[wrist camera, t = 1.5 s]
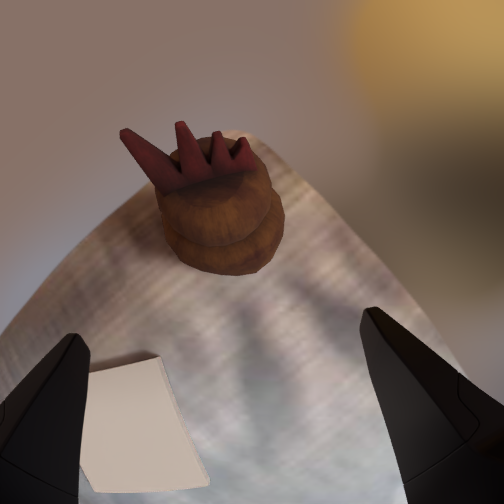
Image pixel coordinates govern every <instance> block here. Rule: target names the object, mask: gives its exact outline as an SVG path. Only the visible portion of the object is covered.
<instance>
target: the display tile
mask: <svg viewBox="0 0 504 504" xmlns="http://www.w3.org/2000/svg"><path fill="white" fill-rule="evenodd" d="M80 465H81V467H82V469H83V471H84V473H85V475H86V477H87V479H88V480H89V482H90V484H91V486H92V488H93V489H94V491H95V492H104V493H138V492H158V491H171V490H181V489H189V488H197V487H204V486H209V483H210V478H209V476H208V474H207V472H206V470H205V468H204V465H203V463H202V461H201V459H200V457H199V455H198V452H197V450H196V448H195V446H194V443H193V441H192V439H191V437H190V434H189V432H188V429H187V427H186V425H185V422H184V420H183V417H182V415H181V412H180V410H179V407H178V405H177V402H176V399H175V397H174V394H173V391H172V389H171V386H170V383H169V380H168V378H167V375H166V372H165V369H164V366H163V363H162V360H161V357H160V356H159V357H155V358H151V359H147V360H143V361H139V362H135V363H130V364H126V365H122V366H117V367H113V368H108V369H104V370H99V371H94V372H89V379H88V393H87V402H86V409H85V416H84V424H83V432H82V442H81V453H80Z"/></svg>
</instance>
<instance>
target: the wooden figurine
mask: <svg viewBox="0 0 504 504" xmlns="http://www.w3.org/2000/svg"><path fill="white" fill-rule="evenodd" d="M175 130H176V138H177V146H178V149H177V150H175V151H174V152H172V153H171V154H170V156H168V155H167V154H165V153H164V152H163V151H161V150H160V149H158V148H157V147H155V146H154V145H152V144H151V143H149V142H148V141H147V140H145V139H144V138H142V137H141V136H139V135H138V134H136V133H135V132H133V131H132V130H130V129H128V128H125V129H123V130H120V139H121V140H122V142H123V143H124V145H125V146H126V147H127V149H128V150H129V152H130V153H131V155H132V156H133V157H134V159H135V160H136V161H137V163H138V164H139V165H140V167H141V168H142V170H143V171H144V172H145V174H146V175H147V177H148V178H149V179H150V181H151V182H152V183H153V185H154V186H155V193H156V197H157V201H158V206H159V209H160V211H161V212H162V215H161V217H162V222H163V227H164V232H165V237H166V241H167V243H168V244H169V245H170V247H171V248H172V249H173V251H174V252H175V254H176V255H177V256H178V258H179V259H180V261H182V262H183V263H185V264H187V265H189V266H191V267H194V268H196V269H198V270H201V271H204V272H209V273H214V274H219V275H231V276H240V275H246V274H253V273H256V272H257V271H259V270H260V269H261V268H262V267H264V266H265V265H266V264H267V263H268V262H270V261H271V259H272V258H273V256H274V254H275V252H276V250H277V248H278V246H279V244H280V241H281V239H282V237H283V231H284V220H285V214H284V210H283V207H282V203H281V199H280V196H279V195H278V194H277V193H276V192H275V190H274V189H273V188H272V184H271V180H270V177H269V174H268V171H267V169H266V166H265V164H264V163H263V162H262V161H261V159H260V158H259V157H258V156H257V155H256V154H255V153H254V152H253V151H252V150H251V148H250V145H249V143H248V141H247V139H246V137H240V138H239V139H238V140H237V141H236V140H232V139H228V138H224V137H223V136H222V133H221V132H220V131H216V132H213V133H212V137H205V138H200V139H198V140H196V139H195V138H194V136H193V134H192V133H191V131H190V130H189V128H188V127H187V125H186V123H185V122H184V121H179V122H176V123H175Z"/></svg>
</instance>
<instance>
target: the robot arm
mask: <svg viewBox="0 0 504 504" xmlns="http://www.w3.org/2000/svg"><path fill="white" fill-rule="evenodd" d="M360 336H361V340H362V344H363V348H364V353H365V357H366V361H367V366H368V370H369V374H370V378H371V381H372V384H373V387H374V390H375V393H376V395H377V398H378V401H379V404H380V408H381V411H382V414H383V417H384V420H385V423H386V426H387V429H388V433H389V436H390V439H391V443H392V446H393V449H394V453H395V456H396V460H397V463H398V467H399V470H400V474H401V478H402V482H403V484H404V485H403V486H404V490H405V494H406V498H407V502H408V504H504V406H503V405H502V404H501V403H499V402H498V401H496V400H495V399H493V398H492V397H490V396H489V395H488V394H486V393H485V392H484V391H482V390H481V389H479V388H478V387H477V386H476V385H474V384H473V383H472V382H471V381H469V380H468V379H467V378H466V377H464V376H463V375H462V374H461V373H458V371H457V370H456V369H455V368H453V367H452V366H451V365H450V364H449V363H447V362H446V361H445V360H444V359H443V358H441V357H440V356H439V355H438V354H436V353H435V352H434V351H433V350H432V349H430V348H429V347H428V346H427V345H425V344H424V343H423V342H422V341H420V340H419V339H418V338H417V337H415V336H414V335H413V334H412V333H410V332H409V331H408V330H407V329H405V328H404V327H403V326H402V325H400V324H399V323H398V322H397V321H395V320H394V319H393V318H392V317H390V316H389V315H388V314H386V313H385V312H384V311H383V310H381V309H380V308H379V307H370V308H366V309H364V311H363V315H362V319H361V323H360ZM89 366H90V350H89V348H88V346H87V345H86V343H85V342H84V340H83V339H82V337H81V336H80V335H79V334H77V333H69V334H67V335H66V336H65V337H64V338H63V339H62V340H61V341H60V342H59V343H58V344H57V345H56V346H55V347H54V348H53V349H52V350H51V351H50V352H49V353H48V354H47V355H46V356H45V357H44V358H43V359H42V360H41V361H40V362H39V363H38V364H37V365H36V366H35V367H34V368H33V369H32V370H31V371H30V372H29V373H28V374H27V376H26V377H25V378H24V379H23V380H22V381H21V382H20V383H19V384H18V385H17V386H16V387H15V389H14V390H13V391H12V392H11V393H10V394H9V395H8V396H7V397H6V398H5V400H4V401H3V402H2V403H1V404H0V504H78V491H79V468H80V453H81V442H82V432H83V424H84V416H85V409H86V402H87V393H88V379H89Z"/></svg>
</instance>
